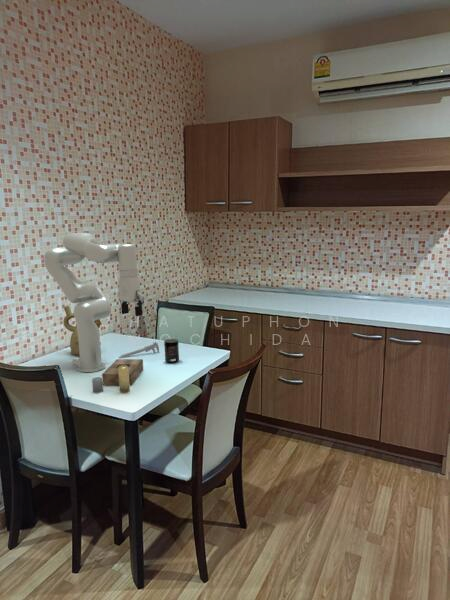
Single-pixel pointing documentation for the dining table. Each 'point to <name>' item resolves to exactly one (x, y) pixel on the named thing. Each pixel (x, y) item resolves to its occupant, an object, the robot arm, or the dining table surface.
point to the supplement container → (171, 351)
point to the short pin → (97, 385)
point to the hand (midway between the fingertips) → (132, 314)
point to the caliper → (147, 348)
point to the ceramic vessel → (74, 330)
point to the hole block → (113, 377)
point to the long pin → (123, 379)
